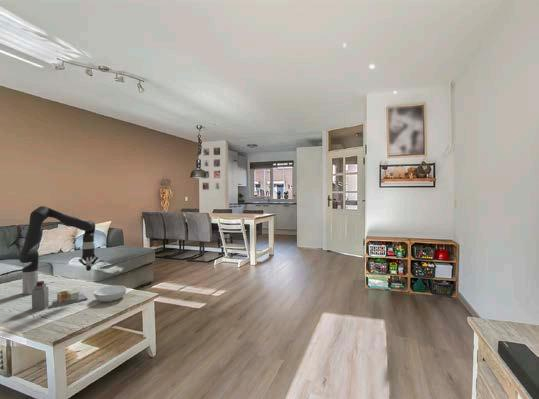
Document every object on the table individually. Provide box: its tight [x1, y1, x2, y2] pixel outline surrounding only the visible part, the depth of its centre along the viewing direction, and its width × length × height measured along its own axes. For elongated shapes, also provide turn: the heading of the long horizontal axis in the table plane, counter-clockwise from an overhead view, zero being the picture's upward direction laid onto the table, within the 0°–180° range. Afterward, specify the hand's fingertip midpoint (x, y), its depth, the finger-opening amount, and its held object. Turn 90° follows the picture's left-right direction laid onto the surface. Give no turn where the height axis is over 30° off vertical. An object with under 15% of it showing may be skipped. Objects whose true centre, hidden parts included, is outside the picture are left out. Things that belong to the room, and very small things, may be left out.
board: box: [52, 293, 88, 308], centre depth 199 cm, size 12×18×6 cm, turn 138°
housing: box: [68, 289, 80, 301], centre depth 200 cm, size 9×6×5 cm, turn 48°
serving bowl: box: [93, 285, 128, 302], centre depth 203 cm, size 21×21×7 cm
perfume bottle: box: [31, 280, 49, 312], centre depth 186 cm, size 7×7×18 cm
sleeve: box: [56, 289, 70, 303], centre depth 196 cm, size 6×6×6 cm
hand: (88, 270), depth 207 cm, fingers closed
